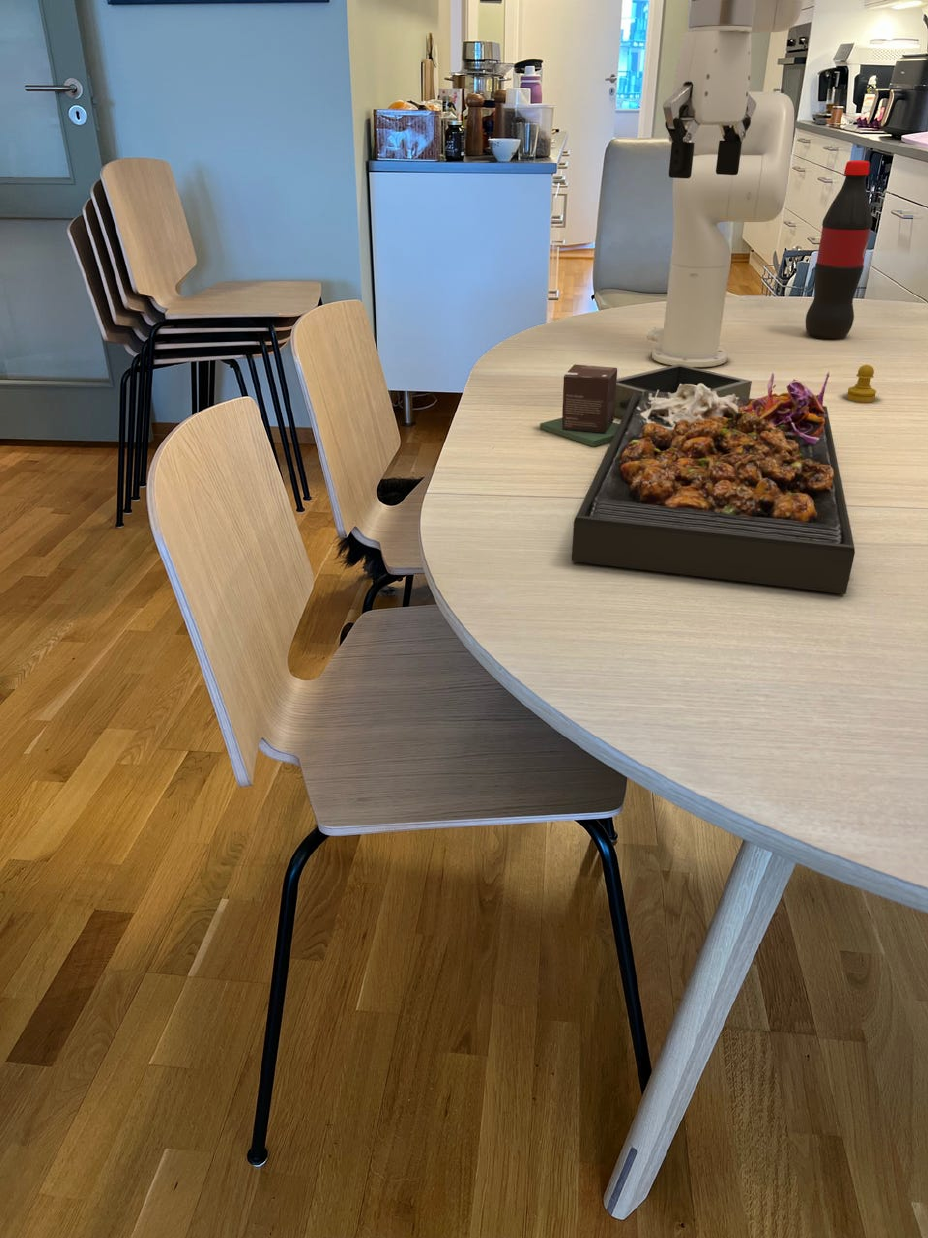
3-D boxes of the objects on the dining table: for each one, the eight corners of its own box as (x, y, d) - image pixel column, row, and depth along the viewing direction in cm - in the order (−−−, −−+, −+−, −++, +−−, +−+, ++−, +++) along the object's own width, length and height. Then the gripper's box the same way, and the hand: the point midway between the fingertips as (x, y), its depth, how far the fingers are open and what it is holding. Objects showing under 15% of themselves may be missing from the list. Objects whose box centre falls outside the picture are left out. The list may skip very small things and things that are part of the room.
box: (614, 421, 125) (619, 367, 121) (605, 434, 120) (610, 378, 116) (570, 417, 127) (573, 363, 123) (560, 429, 122) (563, 374, 118)
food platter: (630, 424, 125) (637, 347, 120) (820, 440, 119) (836, 359, 114) (571, 560, 87) (578, 457, 82) (845, 593, 81) (870, 484, 76)
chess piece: (876, 402, 135) (884, 368, 133) (848, 401, 136) (855, 367, 134) (871, 395, 139) (879, 362, 136) (844, 394, 139) (851, 361, 137)
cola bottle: (851, 333, 177) (886, 159, 162) (848, 342, 170) (883, 161, 155) (805, 329, 180) (835, 158, 165) (800, 338, 173) (830, 160, 159)
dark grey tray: (603, 413, 131) (605, 381, 129) (675, 393, 140) (678, 363, 138) (675, 434, 122) (679, 401, 120) (747, 412, 131) (752, 381, 129)
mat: (539, 428, 125) (540, 423, 124) (581, 417, 129) (581, 412, 129) (593, 447, 118) (594, 441, 118) (635, 434, 122) (635, 428, 122)
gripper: (738, 24, 118) (720, 172, 127) (650, 17, 109) (637, 177, 117) (789, 20, 113) (767, 174, 122) (701, 12, 104) (684, 180, 112)
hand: (703, 175), depth 119 cm, fingers open, 9 cm apart
